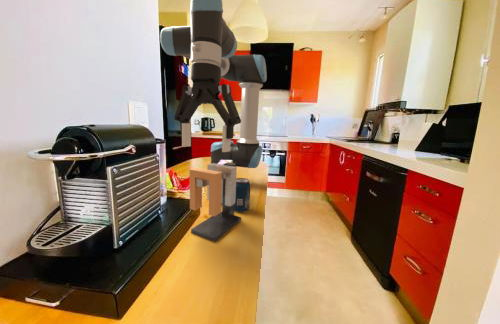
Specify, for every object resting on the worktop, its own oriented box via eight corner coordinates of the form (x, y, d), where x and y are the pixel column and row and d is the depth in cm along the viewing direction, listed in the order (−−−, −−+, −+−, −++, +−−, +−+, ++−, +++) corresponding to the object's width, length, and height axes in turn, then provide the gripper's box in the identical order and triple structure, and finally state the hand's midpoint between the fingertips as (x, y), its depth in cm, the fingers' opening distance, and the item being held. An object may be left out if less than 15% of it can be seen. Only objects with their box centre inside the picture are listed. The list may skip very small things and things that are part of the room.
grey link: (212, 197, 69) (213, 163, 67) (235, 203, 65) (236, 167, 63) (207, 200, 66) (207, 164, 64) (230, 206, 62) (231, 168, 60)
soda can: (233, 205, 83) (234, 177, 81) (250, 206, 83) (251, 178, 80) (230, 212, 76) (231, 182, 74) (248, 213, 76) (249, 183, 73)
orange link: (196, 205, 62) (196, 167, 60) (220, 212, 58) (221, 172, 56) (189, 208, 59) (189, 169, 57) (214, 216, 55) (215, 174, 53)
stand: (219, 214, 74) (221, 161, 71) (241, 220, 71) (243, 164, 67) (187, 235, 60) (186, 170, 56) (212, 244, 56) (213, 175, 52)
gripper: (159, 65, 53) (161, 145, 57) (241, 55, 42) (237, 155, 46) (180, 72, 60) (181, 143, 64) (257, 65, 49) (252, 152, 53)
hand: (205, 149), depth 55 cm, fingers open, 13 cm apart
